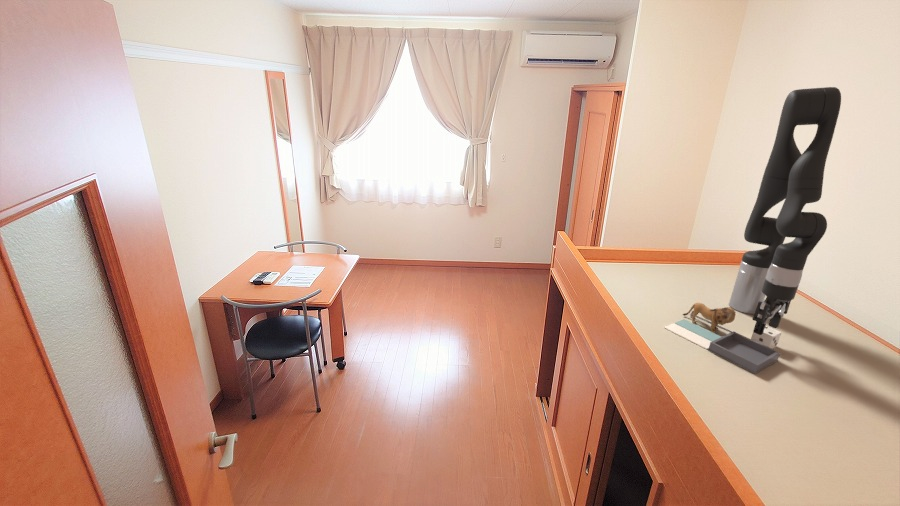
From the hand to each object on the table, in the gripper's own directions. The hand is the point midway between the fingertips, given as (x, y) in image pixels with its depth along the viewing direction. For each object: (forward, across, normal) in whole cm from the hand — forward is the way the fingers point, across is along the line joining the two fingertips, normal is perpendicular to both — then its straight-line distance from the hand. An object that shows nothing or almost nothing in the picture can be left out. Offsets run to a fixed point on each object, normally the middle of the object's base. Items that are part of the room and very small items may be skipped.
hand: (765, 330), depth 119 cm
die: (+5, -1, 0) cm, 5 cm away
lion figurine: (+5, +4, -14) cm, 15 cm away
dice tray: (+5, +11, +1) cm, 12 cm away
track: (+5, +9, -13) cm, 17 cm away
